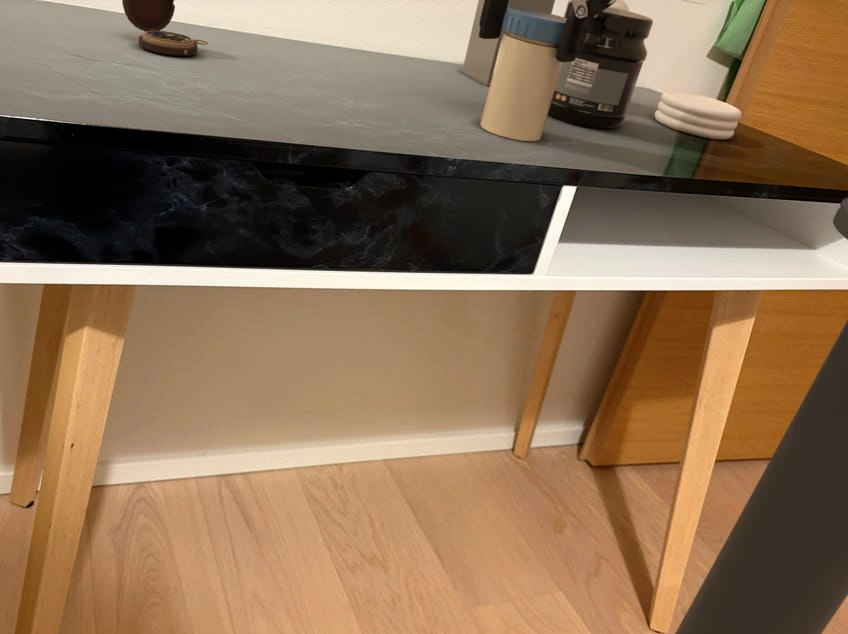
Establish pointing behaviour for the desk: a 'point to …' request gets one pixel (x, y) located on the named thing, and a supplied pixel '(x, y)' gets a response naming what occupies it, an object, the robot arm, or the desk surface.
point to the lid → (534, 24)
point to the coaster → (697, 115)
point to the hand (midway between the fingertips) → (526, 48)
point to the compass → (158, 27)
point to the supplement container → (602, 70)
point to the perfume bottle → (492, 42)
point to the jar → (521, 88)
